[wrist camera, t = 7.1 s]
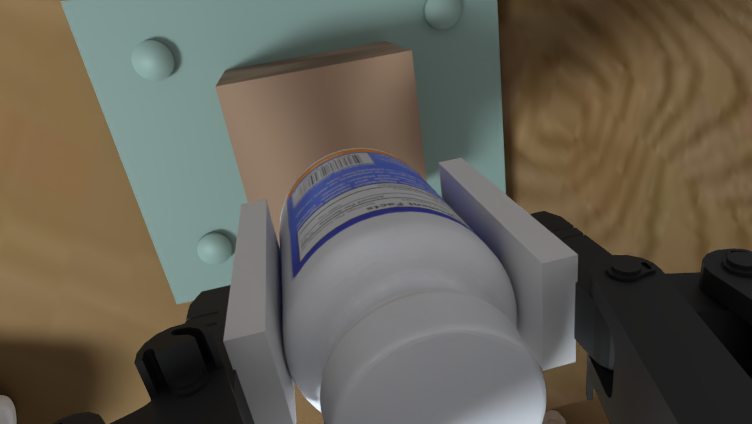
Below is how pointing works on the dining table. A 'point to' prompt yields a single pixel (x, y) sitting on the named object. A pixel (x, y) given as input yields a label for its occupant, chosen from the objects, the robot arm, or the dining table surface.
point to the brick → (553, 418)
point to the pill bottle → (397, 303)
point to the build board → (257, 46)
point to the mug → (7, 411)
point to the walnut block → (319, 114)
